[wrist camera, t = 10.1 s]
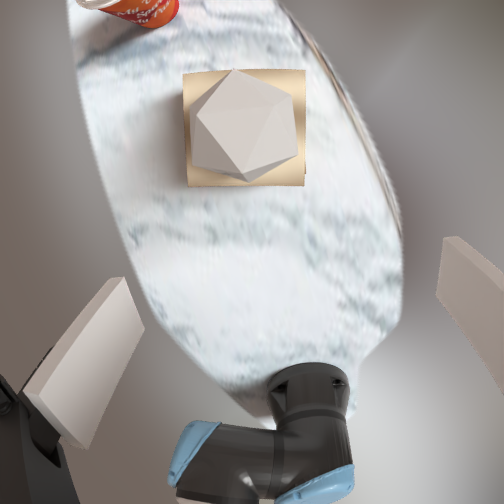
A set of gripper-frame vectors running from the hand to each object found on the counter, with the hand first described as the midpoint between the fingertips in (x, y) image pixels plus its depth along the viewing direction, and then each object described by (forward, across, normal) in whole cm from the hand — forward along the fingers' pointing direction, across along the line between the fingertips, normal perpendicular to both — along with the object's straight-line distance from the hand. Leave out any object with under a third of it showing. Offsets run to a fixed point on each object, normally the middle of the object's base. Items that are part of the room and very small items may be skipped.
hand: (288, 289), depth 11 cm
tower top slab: (+22, +2, -6) cm, 23 cm away
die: (+18, +2, -6) cm, 19 cm away
